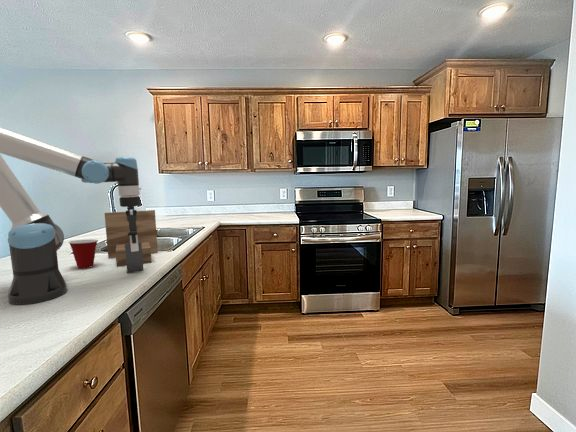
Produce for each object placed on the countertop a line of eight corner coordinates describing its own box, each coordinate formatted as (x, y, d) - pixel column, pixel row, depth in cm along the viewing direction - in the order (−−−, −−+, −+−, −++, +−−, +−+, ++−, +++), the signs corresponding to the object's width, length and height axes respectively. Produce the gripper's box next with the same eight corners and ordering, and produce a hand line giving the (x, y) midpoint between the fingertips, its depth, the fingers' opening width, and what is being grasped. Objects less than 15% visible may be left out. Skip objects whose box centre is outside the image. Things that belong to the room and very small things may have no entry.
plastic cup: (106, 263, 140) (103, 237, 138) (88, 270, 129) (85, 242, 128) (84, 262, 141) (81, 237, 140) (64, 270, 130) (61, 242, 129)
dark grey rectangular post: (143, 271, 128) (141, 243, 127) (127, 273, 125) (124, 244, 124) (143, 269, 131) (141, 241, 129) (127, 271, 128) (124, 243, 126)
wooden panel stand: (161, 261, 143) (158, 214, 140) (106, 268, 133) (101, 217, 130) (157, 251, 161) (154, 210, 158) (108, 257, 151) (104, 212, 148)
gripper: (141, 197, 115) (146, 252, 118) (138, 194, 137) (143, 241, 140) (118, 198, 111) (124, 255, 114) (119, 195, 133) (124, 243, 136)
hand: (134, 247), depth 127 cm, fingers open, 13 cm apart
